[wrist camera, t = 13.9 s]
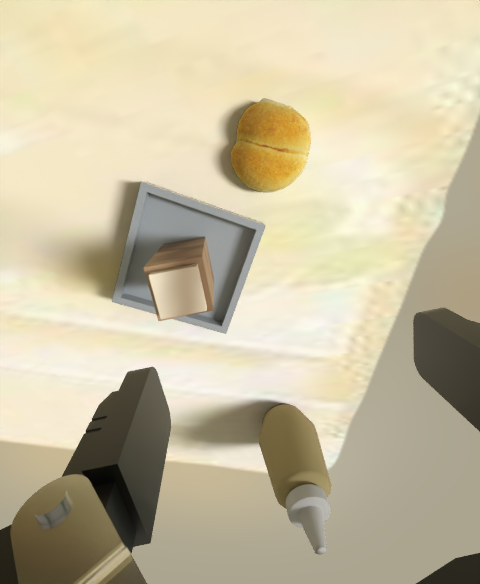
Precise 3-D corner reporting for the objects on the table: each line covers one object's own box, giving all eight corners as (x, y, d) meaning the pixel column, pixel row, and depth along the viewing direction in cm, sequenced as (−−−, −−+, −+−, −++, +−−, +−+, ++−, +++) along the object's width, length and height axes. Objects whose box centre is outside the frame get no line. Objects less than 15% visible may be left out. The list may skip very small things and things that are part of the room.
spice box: (173, 284, 39) (156, 325, 28) (163, 244, 37) (140, 270, 26) (213, 277, 39) (213, 315, 28) (205, 236, 37) (201, 259, 26)
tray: (117, 294, 40) (111, 301, 37) (145, 181, 36) (141, 181, 33) (225, 325, 42) (225, 333, 40) (262, 222, 38) (265, 225, 36)
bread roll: (224, 182, 37) (225, 181, 33) (244, 96, 34) (248, 84, 30) (292, 201, 38) (300, 202, 34) (316, 119, 35) (329, 111, 32)
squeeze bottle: (311, 435, 49) (363, 569, 32) (259, 445, 49) (284, 585, 32) (306, 392, 46) (360, 512, 29) (251, 402, 46) (273, 529, 29)
